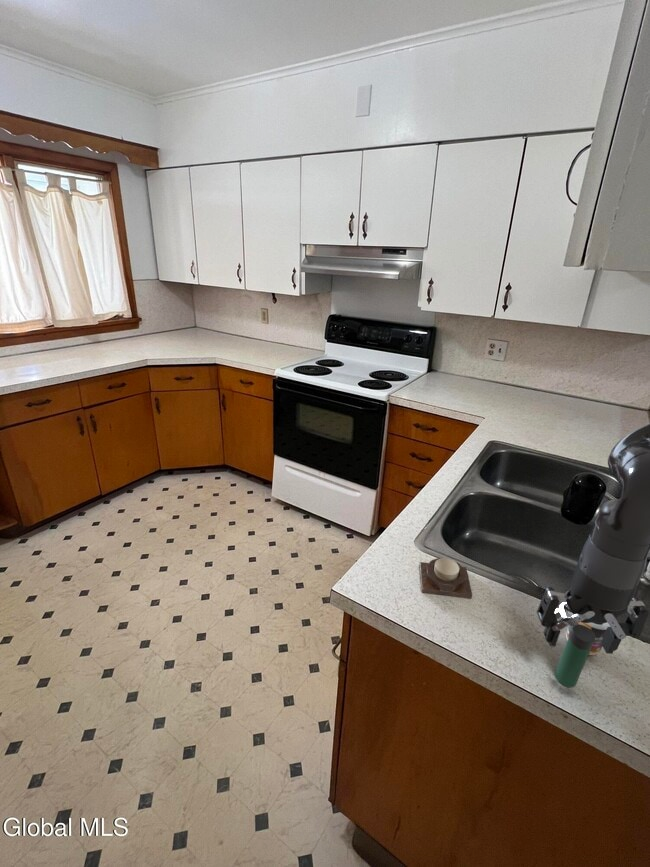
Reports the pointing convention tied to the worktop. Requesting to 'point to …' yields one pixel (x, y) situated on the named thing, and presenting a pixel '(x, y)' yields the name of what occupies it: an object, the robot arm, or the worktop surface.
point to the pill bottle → (597, 630)
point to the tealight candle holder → (444, 582)
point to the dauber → (574, 655)
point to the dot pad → (446, 569)
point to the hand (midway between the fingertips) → (578, 645)
